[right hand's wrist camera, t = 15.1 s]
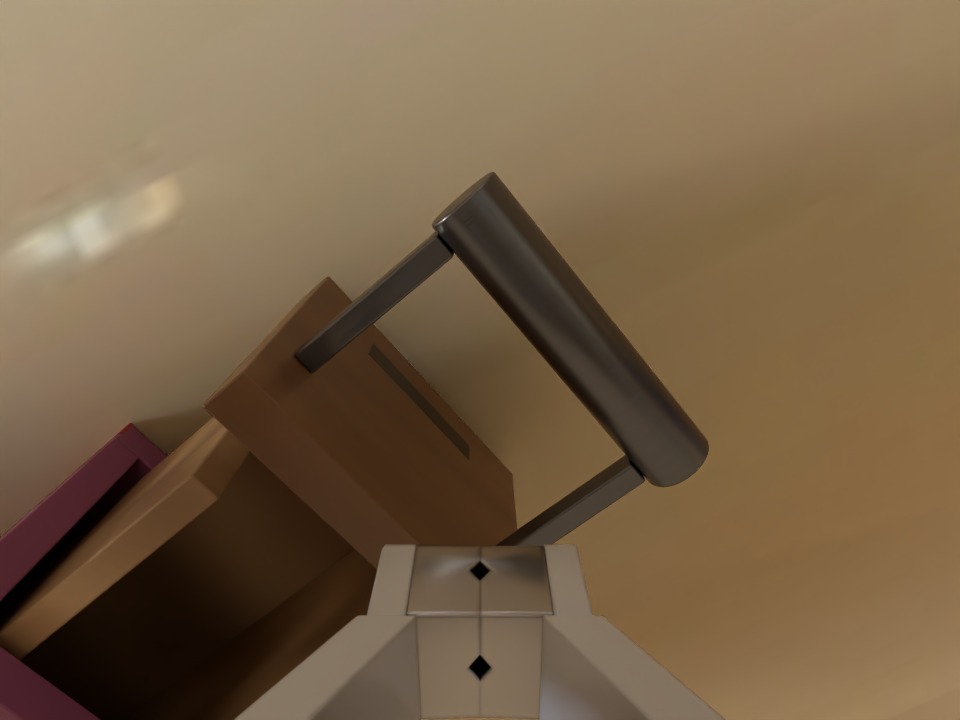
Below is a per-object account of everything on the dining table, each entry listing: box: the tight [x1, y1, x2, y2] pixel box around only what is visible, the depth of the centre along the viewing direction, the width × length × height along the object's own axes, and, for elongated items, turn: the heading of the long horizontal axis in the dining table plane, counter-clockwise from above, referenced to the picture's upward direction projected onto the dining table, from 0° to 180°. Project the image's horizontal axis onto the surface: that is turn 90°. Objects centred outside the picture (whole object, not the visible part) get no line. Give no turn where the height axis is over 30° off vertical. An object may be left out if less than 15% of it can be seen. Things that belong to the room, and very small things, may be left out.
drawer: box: [0, 172, 709, 720], centre depth 19 cm, size 25×9×8 cm, turn 130°
